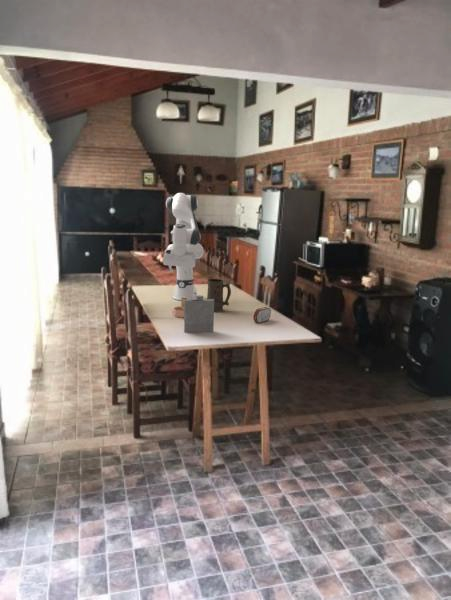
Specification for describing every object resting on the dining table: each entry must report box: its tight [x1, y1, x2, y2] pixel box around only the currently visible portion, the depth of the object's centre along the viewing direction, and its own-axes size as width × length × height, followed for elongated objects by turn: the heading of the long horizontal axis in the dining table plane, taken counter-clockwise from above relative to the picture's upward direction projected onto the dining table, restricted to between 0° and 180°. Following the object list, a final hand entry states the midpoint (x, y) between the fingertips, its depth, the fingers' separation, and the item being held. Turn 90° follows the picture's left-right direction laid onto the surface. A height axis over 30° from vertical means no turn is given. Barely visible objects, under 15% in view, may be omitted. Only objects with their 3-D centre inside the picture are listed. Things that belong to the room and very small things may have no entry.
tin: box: [252, 306, 272, 324], centre depth 294 cm, size 15×3×8 cm, turn 141°
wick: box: [180, 297, 187, 311], centre depth 303 cm, size 4×2×10 cm, turn 164°
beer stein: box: [206, 278, 232, 313], centre depth 319 cm, size 15×11×20 cm
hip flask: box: [183, 294, 215, 334], centre depth 266 cm, size 16×4×20 cm, turn 103°
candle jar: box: [171, 305, 185, 319], centre depth 304 cm, size 13×13×4 cm
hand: (178, 273), depth 307 cm, fingers open, 8 cm apart
